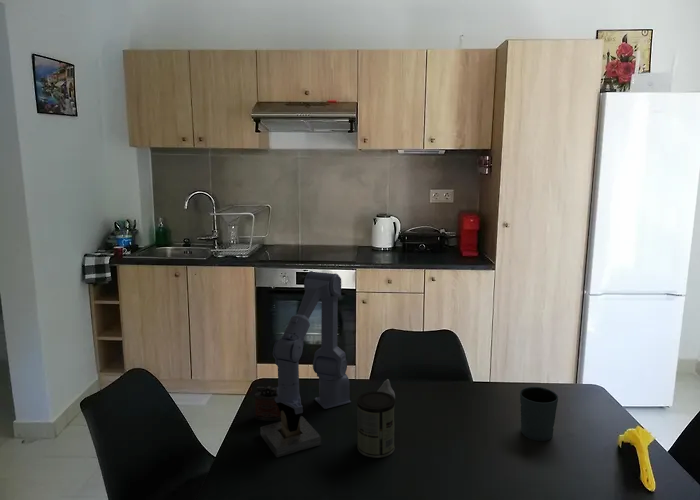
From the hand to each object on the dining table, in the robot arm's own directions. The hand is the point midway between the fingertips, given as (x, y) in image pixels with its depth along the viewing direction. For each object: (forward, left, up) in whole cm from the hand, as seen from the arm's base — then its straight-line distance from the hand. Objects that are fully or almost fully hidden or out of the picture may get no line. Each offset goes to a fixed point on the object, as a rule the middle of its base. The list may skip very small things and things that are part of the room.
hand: (289, 426), depth 147 cm
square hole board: (0, 0, -4) cm, 4 cm away
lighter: (+1, -15, -4) cm, 16 cm away
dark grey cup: (-63, +31, -4) cm, 70 cm away
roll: (-31, +1, -4) cm, 31 cm away
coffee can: (-19, +15, -4) cm, 25 cm away
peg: (0, 0, -3) cm, 3 cm away
